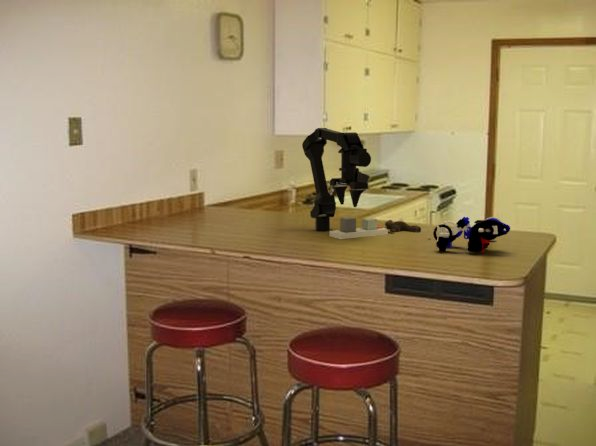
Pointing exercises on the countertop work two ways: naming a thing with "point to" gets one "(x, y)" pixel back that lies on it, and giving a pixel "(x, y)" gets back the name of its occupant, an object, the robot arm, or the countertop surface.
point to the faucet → (401, 227)
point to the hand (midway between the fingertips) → (348, 205)
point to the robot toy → (470, 233)
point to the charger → (347, 224)
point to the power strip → (358, 233)
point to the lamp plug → (369, 224)
